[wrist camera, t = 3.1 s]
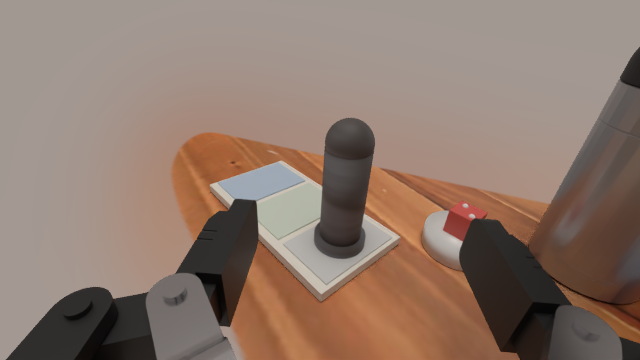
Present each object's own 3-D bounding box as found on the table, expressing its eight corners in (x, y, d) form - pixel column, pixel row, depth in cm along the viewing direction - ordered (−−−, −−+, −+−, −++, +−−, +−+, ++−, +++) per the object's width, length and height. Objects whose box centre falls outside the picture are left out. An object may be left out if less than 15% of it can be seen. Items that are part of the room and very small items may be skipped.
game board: (281, 166, 44) (281, 159, 44) (398, 244, 31) (400, 235, 31) (210, 191, 38) (209, 183, 37) (320, 302, 25) (321, 292, 24)
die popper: (441, 216, 36) (452, 182, 33) (502, 249, 31) (520, 213, 29) (408, 242, 31) (418, 205, 29) (473, 284, 27) (491, 245, 25)
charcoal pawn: (339, 217, 33) (350, 105, 26) (374, 242, 29) (398, 122, 23) (303, 237, 30) (307, 116, 23) (339, 267, 26) (354, 137, 20)
